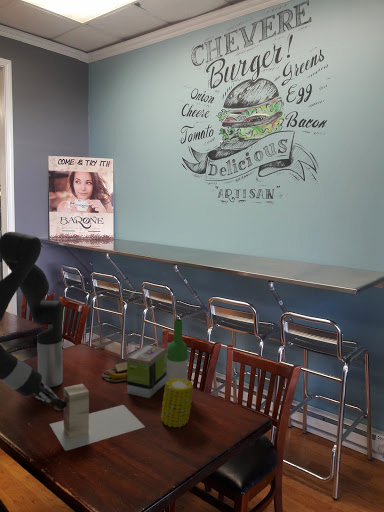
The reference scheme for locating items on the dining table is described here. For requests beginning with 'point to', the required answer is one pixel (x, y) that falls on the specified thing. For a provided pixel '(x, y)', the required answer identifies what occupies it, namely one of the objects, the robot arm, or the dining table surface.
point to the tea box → (146, 371)
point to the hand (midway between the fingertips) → (63, 406)
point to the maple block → (76, 410)
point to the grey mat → (99, 427)
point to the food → (176, 402)
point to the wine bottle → (177, 355)
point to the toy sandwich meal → (116, 373)
